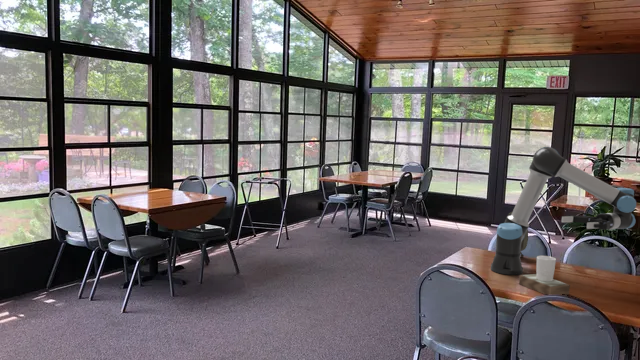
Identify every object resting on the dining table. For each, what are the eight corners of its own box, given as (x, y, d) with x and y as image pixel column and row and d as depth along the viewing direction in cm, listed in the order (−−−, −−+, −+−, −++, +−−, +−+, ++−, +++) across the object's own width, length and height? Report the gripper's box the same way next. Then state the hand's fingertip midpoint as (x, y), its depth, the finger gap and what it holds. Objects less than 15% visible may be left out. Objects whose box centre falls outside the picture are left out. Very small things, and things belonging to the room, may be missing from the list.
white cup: (556, 283, 227) (558, 260, 226) (537, 281, 229) (539, 259, 228) (551, 277, 235) (553, 256, 234) (533, 276, 236) (534, 254, 235)
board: (518, 284, 238) (519, 274, 238) (536, 281, 243) (537, 273, 242) (550, 296, 222) (551, 286, 221) (569, 294, 226) (569, 284, 226)
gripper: (631, 235, 233) (597, 236, 224) (583, 223, 255) (551, 224, 247) (633, 218, 232) (600, 219, 223) (585, 208, 254) (553, 209, 246)
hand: (574, 222), depth 235 cm, fingers open, 13 cm apart
